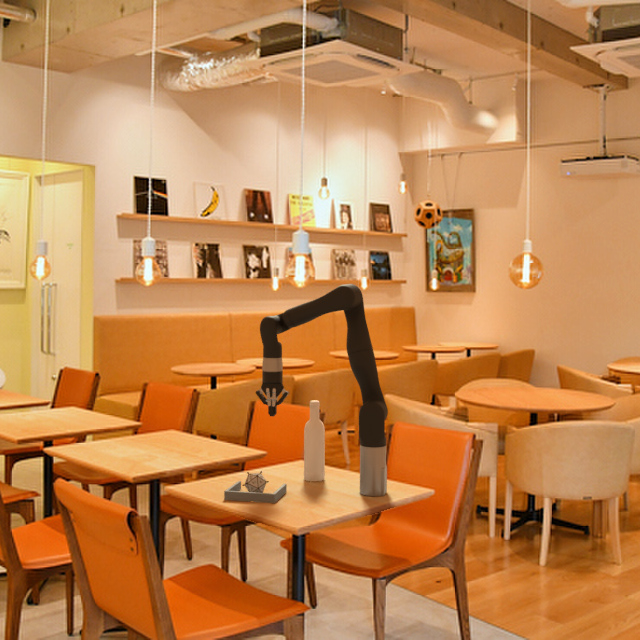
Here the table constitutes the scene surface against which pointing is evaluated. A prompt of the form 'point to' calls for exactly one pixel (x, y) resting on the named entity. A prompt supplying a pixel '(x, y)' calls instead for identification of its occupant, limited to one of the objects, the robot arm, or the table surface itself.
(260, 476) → the game die
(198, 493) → the table surface
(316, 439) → the bottle
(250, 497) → the bay
